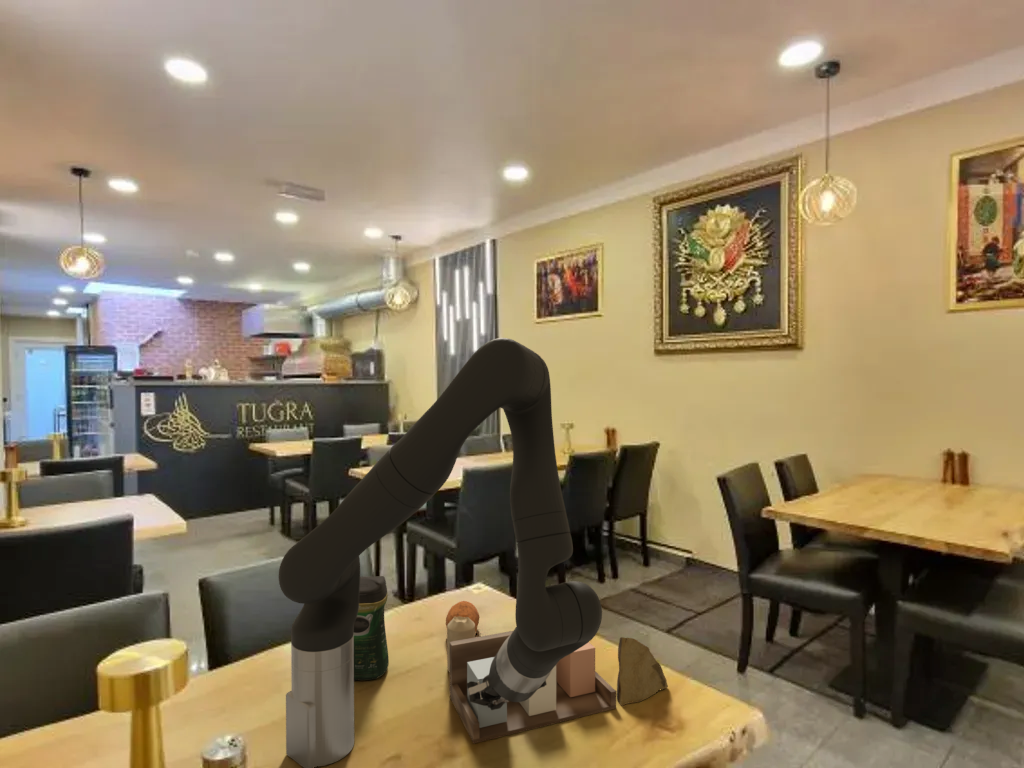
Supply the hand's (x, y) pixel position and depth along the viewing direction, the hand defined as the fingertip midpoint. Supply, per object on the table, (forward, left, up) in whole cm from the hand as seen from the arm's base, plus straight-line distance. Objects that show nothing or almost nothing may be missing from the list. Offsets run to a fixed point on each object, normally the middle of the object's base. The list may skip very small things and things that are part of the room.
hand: (493, 702), depth 94 cm
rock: (+26, -14, -5) cm, 30 cm away
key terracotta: (+19, -4, -5) cm, 20 cm away
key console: (+11, 0, -5) cm, 12 cm away
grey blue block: (+2, +3, -5) cm, 6 cm away
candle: (+12, +18, -5) cm, 22 cm away
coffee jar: (-1, +32, -5) cm, 33 cm away
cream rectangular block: (+10, -1, -5) cm, 11 cm away
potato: (+23, +28, -5) cm, 36 cm away
